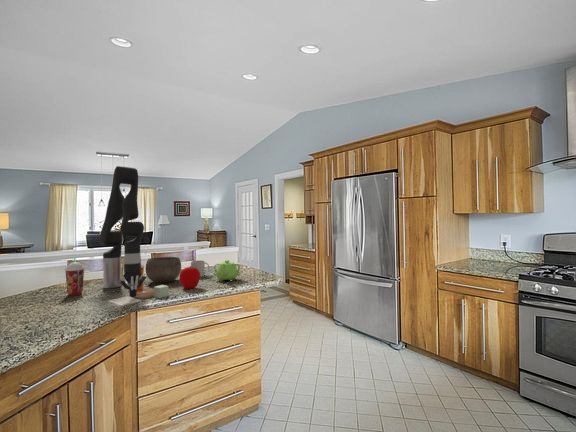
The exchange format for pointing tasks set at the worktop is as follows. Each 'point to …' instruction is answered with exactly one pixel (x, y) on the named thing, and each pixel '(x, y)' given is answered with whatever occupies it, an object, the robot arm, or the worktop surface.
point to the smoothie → (74, 278)
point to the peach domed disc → (144, 293)
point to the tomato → (189, 277)
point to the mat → (124, 300)
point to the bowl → (163, 268)
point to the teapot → (227, 270)
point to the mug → (200, 266)
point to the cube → (160, 291)
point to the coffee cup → (142, 275)
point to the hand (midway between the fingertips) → (132, 297)
